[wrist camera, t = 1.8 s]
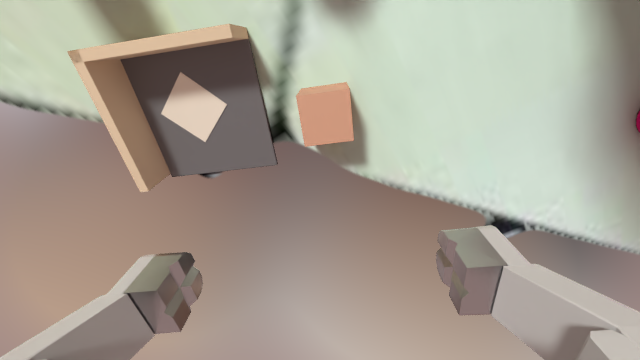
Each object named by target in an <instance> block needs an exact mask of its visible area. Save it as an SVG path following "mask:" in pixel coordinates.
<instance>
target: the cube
mask: <svg viewBox="0 0 640 360" xmlns="http://www.w3.org/2000/svg"><path fill="white" fill-rule="evenodd" d="M296 98H297V104H298V110H299V115H300V121H301V127H302V133H303V138H304V144H305V146H314V145H322V144H330V143H338V142H347V141H354V135H353V123H352V111H351V99H350V88H349V86H348V84H347V82H344V83H337V84H330V85H323V86H316V87H309V88H302V89H301V90H300V91H299V93H298V94H297V96H296Z"/></svg>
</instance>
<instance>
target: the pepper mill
mask: <svg viewBox="0 0 640 360" xmlns="http://www.w3.org/2000/svg"><path fill="white" fill-rule="evenodd" d="M636 126H637V129H638V131H639V132H640V111H639V113H638V115H637V119H636Z"/></svg>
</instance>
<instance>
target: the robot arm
mask: <svg viewBox="0 0 640 360" xmlns="http://www.w3.org/2000/svg"><path fill="white" fill-rule="evenodd" d="M438 243H439V244H440V246H441V248H440V249H439V250H438V251H437V255H436V262H437V269H438V272H439V275H440V277H441V279H442V282H443V283H444V284H446V285H447V286H449V287H450V292H449V296H450V298H451V300H452V302H453V304H454V306H455V308H456V310H457V312H458V314H459V315H481V314H482V315H483V314H491V316H492V317H493V318H494V319H495V320H497V321H498V322H499V323H501V324H502V325H503V326H504V327H505V328H506V329H508V330H509V331H510V332H512V333H513V334H514V335H515V336H516V337H518V338H519V339H520V340H521V341H522V342H524V343H525V344H526V345H527V346H529V347H530V348H531V349H532V350H534V351H535V352H536V353H537V354H539V355H540V356H541V357H542V358H543V359H544V360H640V312H638V311H636V310H634V309H632V308H630V307H628V306H626V305H623V304H621V303H619V302H617V301H615V300H613V299H611V298H608V297H606V296H604V295H602V294H600V293H597V292H596V291H594V290H591V289H589V288H587V287H585V286H583V285H581V284H579V283H577V282H574V281H572V280H570V279H568V278H566V277H564V276H561V275H559V274H557V273H555V272H553V271H551V270H549V269H547V268H544V267H542V266H540V265H538V264H530V263H529V262H528V261H527V260H526V259H525V258H524V257H523V256H522V254H520V252H519V251H518V250H517V249H516V248H515V247H514V246H513V245H512V244H511V243H510V242H509V241H508V240H507V239H506V238H505V237H504V236H503V234H502V233H501V232H500V231H499V230H498V229H497V228H496V227H494V226H492V225H491V226H481V227H474V228H465V229H454V230H443V231H440V232H439V235H438ZM194 262H195V260H194V258H193V256H192V255H191V253H187V252H183V253H168V254H155V255H145V256H142V257H140V258H139V259H138V260H137V261H136V262H135V264H134V265H133V266H132V267H131V268H130V269H129V270H128V271H127V273H126V274H125V275H124V276H123V277H122V278H121V279H120V280H119V281H118V282H117V283H116V285H115V286H114V287H113V288H112V289H111V290H110V291H109V292H108V294H106V295H104V296H100V297H98V298H97V299H95V300H93V301H92V302H90V303H88V304H87V305H85V306H83V307H82V308H80V309H78V310H77V311H75V312H74V313H72V314H70V315H69V316H67V317H65V318H64V319H62V320H61V321H59V322H57V323H56V324H54V325H52V326H51V327H49V328H47V329H46V330H44V331H43V332H41V333H39V334H38V335H36V336H34V337H33V338H31V339H30V340H28V341H26V342H25V343H23V344H21V345H20V346H18V347H16V348H15V349H13V350H12V351H10V352H8V353H7V354H5V355H3V356H2V357H0V360H130V359H131V358H132V357H133V356H134V355H135V354H136V353H137V352H138V351H139V350H140V349H141V348H142V347H143V346H144V345H145V344H146V343H147V342H149V340H151V339H152V337H154V334H160V333H170V332H181V330H182V328H183V326H184V324H185V322H186V321H187V319H188V317H189V315H190V313H191V309H190V305H192V304H193V303H194V302H195V301H196V300H197V299H198V297H199V295H200V293H201V290H202V284H203V282H202V275H201V273H200V271H199V270H198V269H196V268H195V267H193V264H194Z"/></svg>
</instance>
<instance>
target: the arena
mask: <svg viewBox="0 0 640 360" xmlns="http://www.w3.org/2000/svg"><path fill="white" fill-rule="evenodd" d="M67 52H68V54H69V56H70V58H71V60H72V62H73V64H74V66H75V67H76V69H77V71H78V73H79V75H80V77H81V79H82V81H83V83H84V85H85V87H86V89H87V90H88V92H89V94H90V96H91V98H92V100H93V102H94V104H95V106H96V108H97V110H98V112H99V113H100V115H101V117H102V119H103V121H104V123H105V125H106V127H107V129H108V130H109V132H110V135H111V136H112V138H113V140H114V142H115V144H116V146H117V148H118V150H119V152H120V154H121V156H122V157H123V159H124V161H125V163H126V165H127V167H128V169H129V171H130V173H131V175H132V177H133V179H134V181H135V182H136V184H137V186H138V188H139V190H140V192H146V191H150V190H151V189H152V188H153V187H155V185H157V184H158V183H160V182H161V181H162V180H163V179H164V178H166V177H167V176H168V175H170V174H171V175H172V177H176V176H185V175H193V174H202V173H211V172H220V171H228V170H237V169H245V168H254V167H263V166H271V165H277V164H278V163H277V159H276V154H275V150H274V146H273V141H272V137H271V133H270V128H269V124H268V120H267V115H266V111H265V107H264V102H263V98H262V94H261V89H260V85H259V81H258V76H257V72H256V68H255V63H254V59H253V55H252V51H251V46H250V42H249V38H248V33H247V29H246V27H241V26H237V25H232V24H225V25H219V26H213V27H207V28H202V29H196V30H190V31H184V32H178V33H172V34H166V35H160V36H154V37H149V38H143V39H137V40H131V41H125V42H119V43H113V44H107V45H101V46H96V47H90V48H84V49H78V50H72V51H67Z"/></svg>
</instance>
